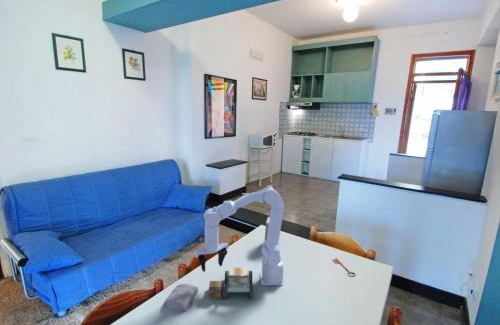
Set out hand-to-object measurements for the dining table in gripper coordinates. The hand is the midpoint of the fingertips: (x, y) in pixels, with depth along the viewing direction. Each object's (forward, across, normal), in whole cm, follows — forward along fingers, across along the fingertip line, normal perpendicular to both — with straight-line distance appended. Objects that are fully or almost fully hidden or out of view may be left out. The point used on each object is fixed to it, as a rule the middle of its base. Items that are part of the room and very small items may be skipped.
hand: (212, 267), depth 109 cm
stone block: (+10, +13, 0) cm, 17 cm away
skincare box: (+10, -43, -16) cm, 47 cm away
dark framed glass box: (+10, -9, +6) cm, 15 cm away
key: (+10, -62, +19) cm, 65 cm away
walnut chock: (+10, 0, +4) cm, 11 cm away
